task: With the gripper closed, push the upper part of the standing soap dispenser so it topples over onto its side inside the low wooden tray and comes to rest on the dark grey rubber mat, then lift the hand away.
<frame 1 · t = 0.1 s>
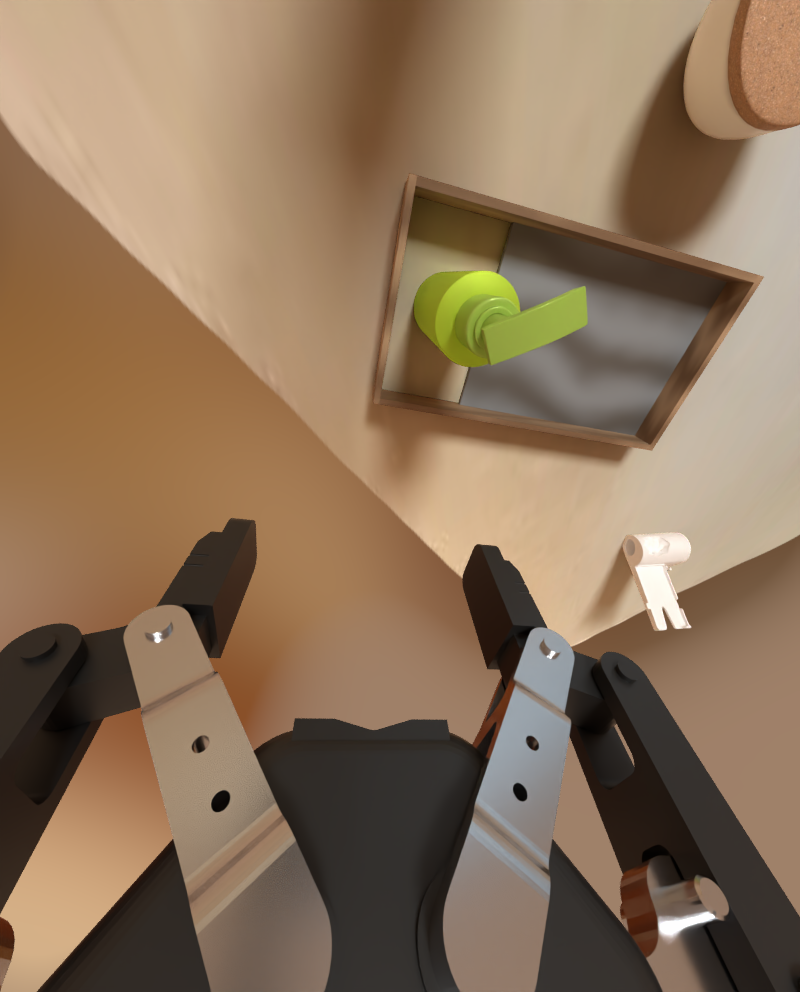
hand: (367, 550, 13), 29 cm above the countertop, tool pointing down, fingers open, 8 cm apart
lidded jar: (721, 65, 27), on the countertop
plastic part: (639, 550, 56), on the countertop
soap dispenser: (447, 304, 34), resting in wooden tray
wooden tray: (542, 337, 36), on the countertop
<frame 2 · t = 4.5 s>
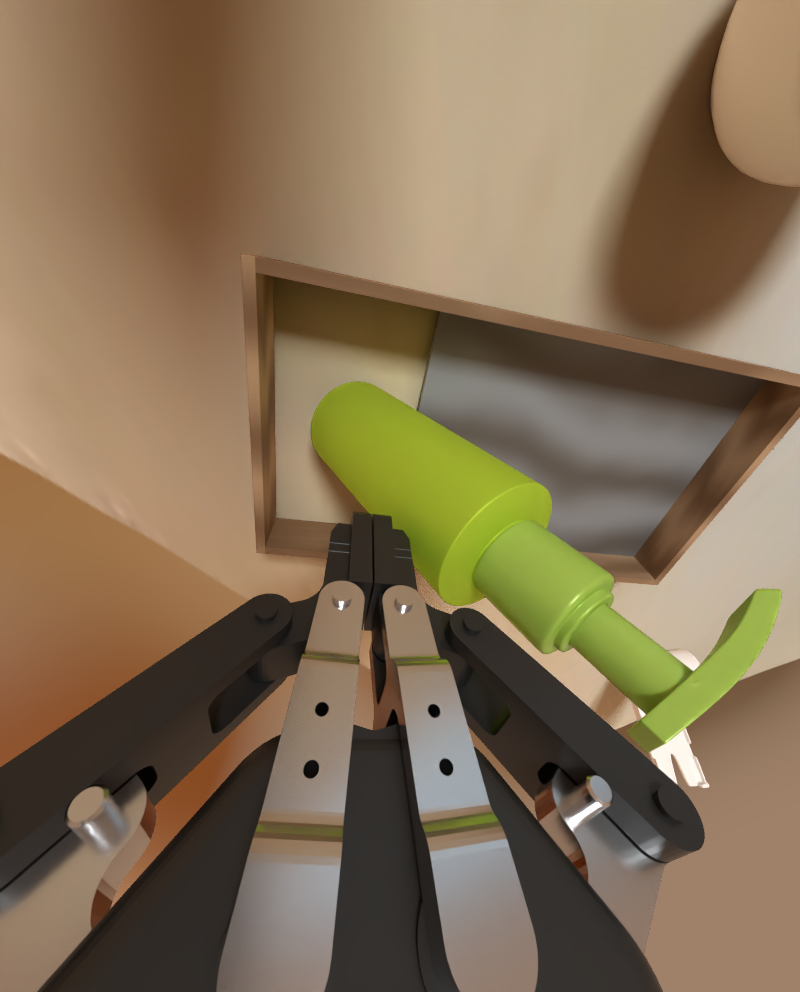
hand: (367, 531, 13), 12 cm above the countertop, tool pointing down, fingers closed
lidded jar: (776, 58, 16), on the countertop
plastic part: (640, 665, 46), on the countertop
soap dispenser: (359, 421, 22), point 1 cm above the countertop
wooden tray: (501, 451, 26), on the countertop
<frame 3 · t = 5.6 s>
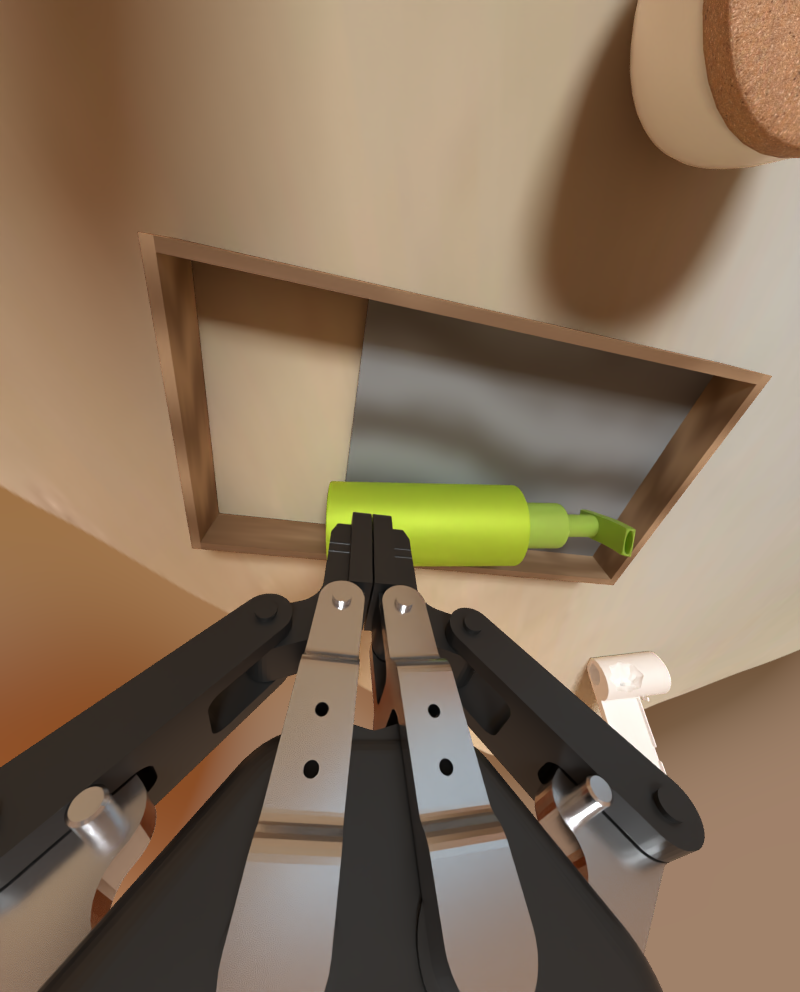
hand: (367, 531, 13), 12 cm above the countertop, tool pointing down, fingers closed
lidded jar: (700, 37, 15), on the countertop
plastic part: (609, 668, 45), on the countertop
soap dispenser: (326, 525, 23), point 4 cm above the countertop, touching wooden tray
wooden tray: (447, 446, 25), on the countertop
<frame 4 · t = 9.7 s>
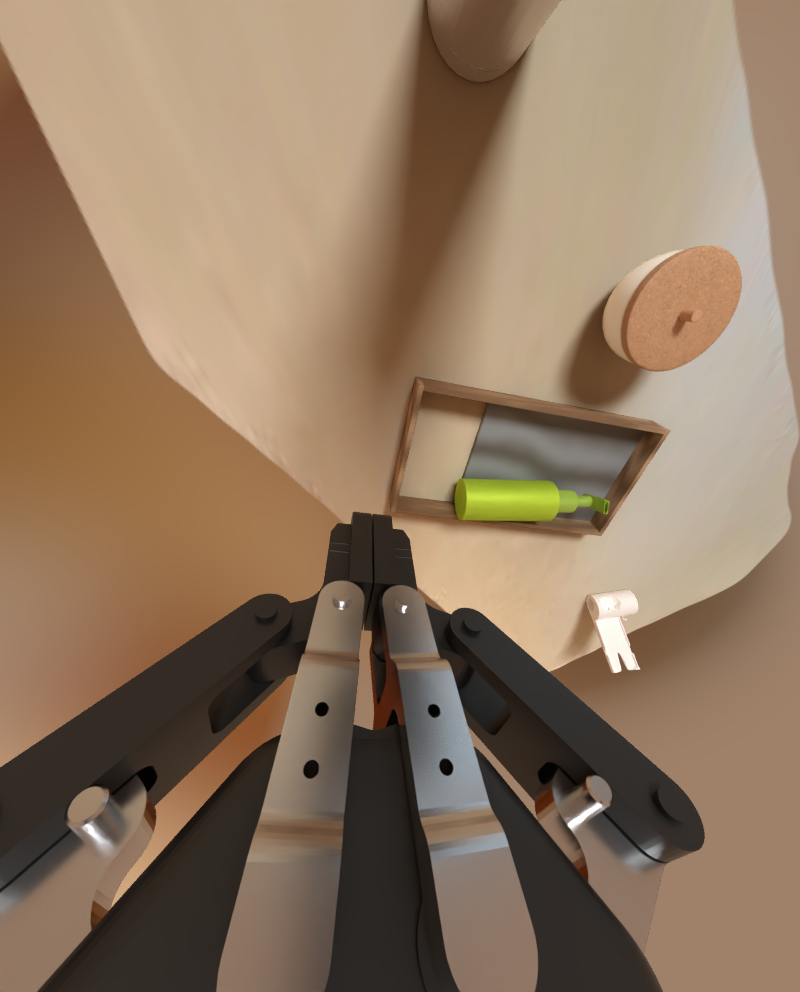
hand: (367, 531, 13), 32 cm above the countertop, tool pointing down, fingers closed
lidded jar: (630, 307, 39), on the countertop
plastic part: (601, 603, 70), on the countertop
soap dispenser: (459, 500, 47), point 4 cm above the countertop, touching wooden tray
wooden tray: (515, 460, 49), on the countertop
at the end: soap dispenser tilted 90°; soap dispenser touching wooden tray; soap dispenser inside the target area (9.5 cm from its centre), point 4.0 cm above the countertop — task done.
